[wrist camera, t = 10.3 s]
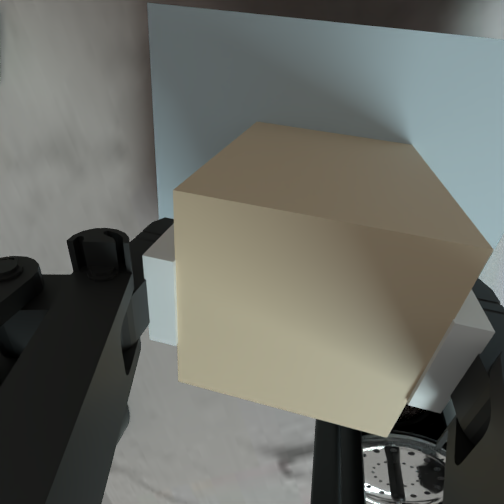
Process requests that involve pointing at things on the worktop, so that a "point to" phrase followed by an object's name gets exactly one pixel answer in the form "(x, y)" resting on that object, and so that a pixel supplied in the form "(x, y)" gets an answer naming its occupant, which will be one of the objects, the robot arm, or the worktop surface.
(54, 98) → the worktop surface
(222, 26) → the lid
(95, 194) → the worktop surface
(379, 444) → the french press
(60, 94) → the worktop surface
